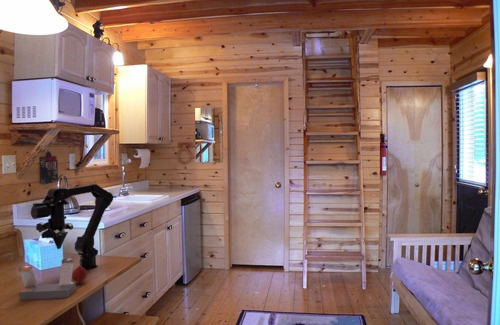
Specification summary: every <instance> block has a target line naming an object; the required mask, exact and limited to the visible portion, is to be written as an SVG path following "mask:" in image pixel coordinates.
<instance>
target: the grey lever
mask: <svg viewBox="0 0 500 325" xmlns="http://www.w3.org/2000/svg"><path fill="white" fill-rule="evenodd" d="M74 260H75V259H74V258H63V259H62V260H61V266H60V274H59V282H58V283H59V285H67V284H71V282H72V280H73V278H72V273H73V271H74V269H73V268H74V262H75V261H74Z"/></svg>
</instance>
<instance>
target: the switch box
mask: <svg viewBox="0 0 500 325" xmlns="http://www.w3.org/2000/svg"><path fill="white" fill-rule="evenodd" d="M76 283H77V282H76V281H71V284H67V285H59V282H58V283H41V284H40V283H39V284H38V283H37V286H36V287H35V288H25V287H24V289H22V290H20V291H19V293H18V296H19V297H18V298H19V301H27V300H28V301H29V300H30V301H31V300H32V301H34V300H51V299H62V298H63V299H65V298H68V297H70V296H71V295H72V294H73V293H74V292H75V291H76V289H77V287H76V286H77V285H76ZM69 295H70V296H69Z"/></svg>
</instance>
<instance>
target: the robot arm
mask: <svg viewBox="0 0 500 325" xmlns="http://www.w3.org/2000/svg"><path fill="white" fill-rule="evenodd" d="M89 193H91V195H92V196H93V197H94V198H95V200H94V209H93V211H92V214H91V216H90V218H89V221H88V223H87V226H86V229H85V231H84V233H83V234H82V235H80V236H77V238H76V241H75V243H73V244H74V251H75V252H76V253H77V255H78V256H79V257H80V258H79V262H78V263H79V265H80V266H81V267H83V268H84V269H85V270H86V271H88V270H91V269H94V268H95V269H96V268H97V267H98V265H97V259H96V258H97V256H98V254H99V250H98V249H96V248H94V247H95V246H94V245H95V235H96V233H97V230H98V228H99V226H100V223H101V220H102V218H103V217H104V216H103V215H104V213H105V211H106V209H108V208H109V207H110V205H111V204H112V202H113V201H114V195H113V194H112V192H109V191H107V190H106V189H104V188H102V187H101V186H100V185H98V184H96V183H90V184H86V185H85V184H84V185H79V186H73V187H69V188H68V187H52V188H49V190H48V191H47V193H46V196H45V197H44V198H43V200H42V202H39V203H38V202H36V203H35V202H34V203H32V207H31V210H30V216H31V218H32V219H34V220H38V219H44V218H48V217H49V218H48V220H47V221H46V222H44V223H43V222H39V223H37V224H36V225H35V226H36V227H35V230H36V231H38V233H41V234H40V235H41V239H53V242H54V244H55V247H56V249H57V250H60V249H61V248H62V246H63V244H64V241H65V239H66V238H67V235H68V234H69V232H68V231H65V230H69V231H71V230H73V229H74V224H73V223H71V222H70V223H68V222H67V223H66V219H67V216H66V215H65V206H66V205H69V204H70V203H69V202H68V201H67V199H69V198H70V197H73V196H79V195H83V194H84V195H85V194H89Z"/></svg>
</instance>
